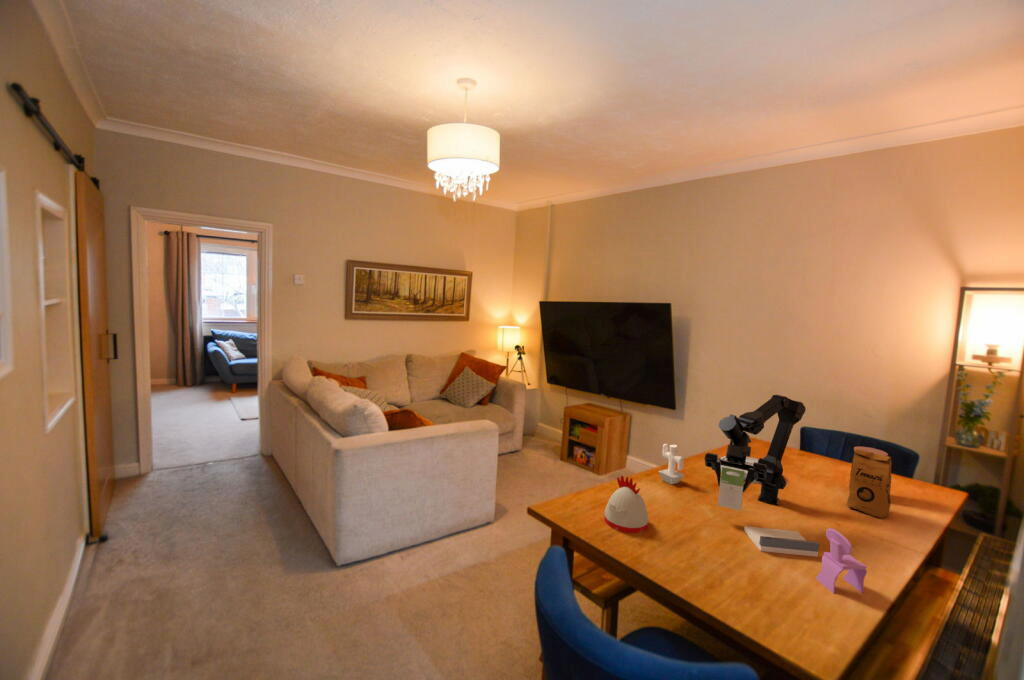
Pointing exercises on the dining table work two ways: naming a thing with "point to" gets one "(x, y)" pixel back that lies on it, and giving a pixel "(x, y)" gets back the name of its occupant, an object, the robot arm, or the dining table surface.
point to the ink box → (731, 489)
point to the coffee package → (870, 483)
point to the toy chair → (840, 563)
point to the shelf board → (782, 541)
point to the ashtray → (748, 462)
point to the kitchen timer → (626, 508)
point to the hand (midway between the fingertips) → (731, 488)
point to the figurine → (672, 465)
